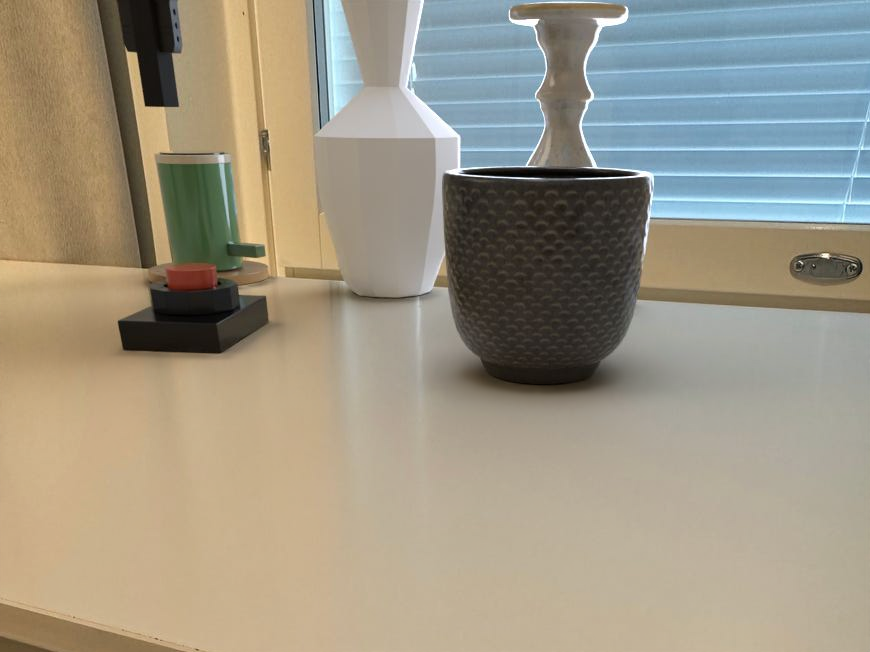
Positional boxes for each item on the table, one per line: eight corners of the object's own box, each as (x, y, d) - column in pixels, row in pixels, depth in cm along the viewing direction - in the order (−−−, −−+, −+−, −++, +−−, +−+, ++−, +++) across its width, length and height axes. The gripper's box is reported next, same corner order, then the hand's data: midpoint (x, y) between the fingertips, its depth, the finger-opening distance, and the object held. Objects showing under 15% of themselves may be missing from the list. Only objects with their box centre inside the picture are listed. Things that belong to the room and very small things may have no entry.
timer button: (160, 293, 71) (156, 269, 70) (180, 284, 74) (176, 262, 73) (208, 294, 71) (204, 271, 70) (226, 286, 74) (223, 263, 73)
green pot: (157, 268, 97) (137, 152, 91) (205, 259, 103) (189, 149, 97) (239, 276, 93) (224, 155, 87) (284, 266, 99) (273, 152, 93)
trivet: (128, 285, 94) (126, 275, 94) (177, 267, 105) (176, 258, 105) (246, 289, 93) (245, 279, 92) (284, 269, 104) (283, 260, 104)
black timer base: (122, 349, 70) (111, 296, 68) (183, 318, 80) (175, 271, 78) (220, 353, 69) (212, 298, 67) (269, 321, 79) (263, 273, 77)
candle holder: (476, 300, 88) (478, 7, 76) (553, 288, 94) (565, 15, 82) (556, 318, 81) (572, -3, 69) (633, 303, 87) (659, 7, 75)
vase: (380, 309, 84) (365, -17, 71) (299, 289, 93) (272, -3, 80) (490, 291, 92) (493, -3, 80) (405, 275, 101) (396, 8, 89)
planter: (420, 356, 68) (414, 167, 62) (582, 343, 73) (593, 164, 66) (485, 405, 57) (487, 180, 50) (672, 386, 61) (697, 176, 55)
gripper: (223, -324, 56) (263, 108, 69) (29, -319, 57) (102, 105, 70) (175, -379, 50) (229, 108, 62) (-42, -373, 51) (52, 104, 63)
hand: (162, 106), depth 66 cm, fingers closed
